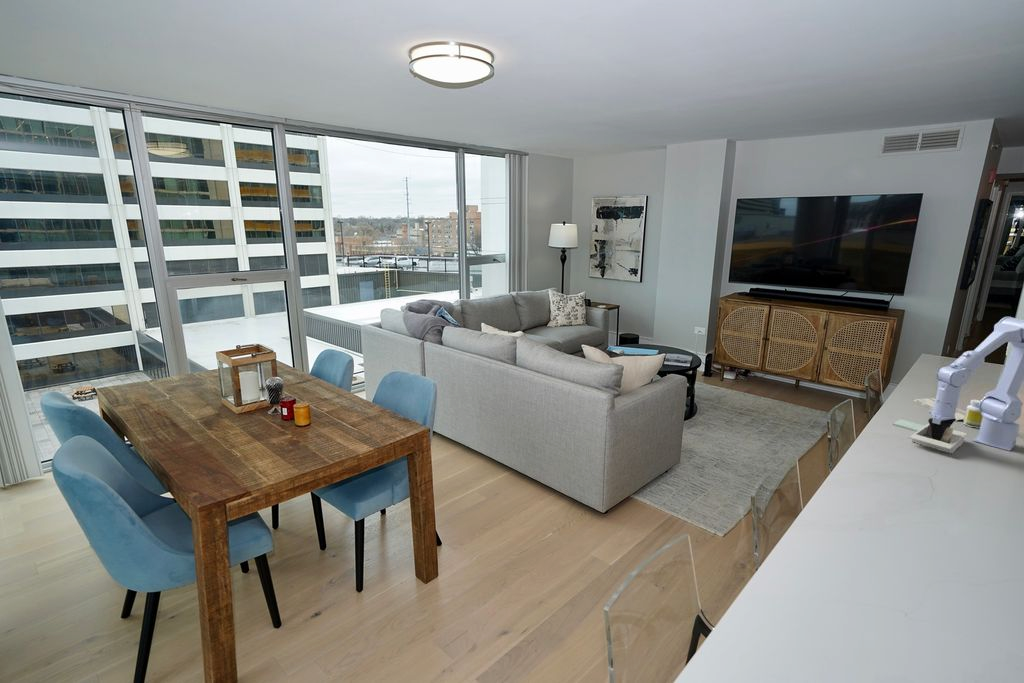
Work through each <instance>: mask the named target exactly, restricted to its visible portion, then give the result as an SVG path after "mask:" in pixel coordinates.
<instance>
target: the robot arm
mask: <svg viewBox="0 0 1024 683" xmlns="http://www.w3.org/2000/svg"><path fill="white" fill-rule="evenodd" d="M1005 343H1011V344H1012V346H1013V348H1012V350H1011V352H1010V355H1009V357H1008V360H1007V362H1006V364H1005V366H1004V369H1003V371H1002V373H1001V375H1000V377H999V380H998V383H997V385H996V387H995V389H993V390H990V391H987V392H986V393H985V395H984V397H983V398H982V399H981V400H980V403H979V410H980V411H981V412H982V413H981V415H983V418H982V422H981V426H980V428H979V431H978V434H977V436H976V437H974V439H973V440H972V441H973V442H975V443H980V444H982V445H987V446H991V447H994V448H997V449H1002V450H1005V451H1011V450H1012V449H1013V448H1014V447H1015V446H1016V443H1017V438H1018V433H1019V431H1020V426H1021V425H1020V424H1019V423H1016V421H1017V420H1019V419H1020V418H1021V415H1022V407H1023V404H1024V403H1023V402H1022V400H1021V399H1020V397H1018V393H1019V391H1020V388H1021V386H1022V384H1023V382H1024V319H1020V318H1016V317H1012V316H1004V317H1002V318H1001V319H1000V320H999V321H998V322H996V323H995V324H994V326H993V331H992V332H991V333H990V334H989V335H988V336H987V337H986V338H985V339H984V340H983V341H982V342H981V343H980V344H979V345H978V346H977V347H976V348H974V350H967V351H964V352H963V353H962V354H961V355H960V356H959V357H958V358H957V359H956V360H954V361H953V362H951V364H949V365H946V366H942V367H940V369H939V370H938V371H937V372H936V373H935V377H936V380H937V386H938V387H937V391H936V396H935V398H936V400H935V405H934V409H933V410H931V409H929V410H928V414H932V417H930V418H928V421H927V422H928V423H929V424H930V427H931V434H932V439H934V440H938V441H940V440H941V438H942V436H943V434H944V432H945V430H946V428H947V427H948V428H951V426H952V425H953V424H954V422H956V421H957V420H956V419H955V412H956V407H957V406H958V403H959V398H960V395H961V390H962V386H964V385H966V384H968V382H969V379H970V377H971V376H972V373H974V372H975V371H976V370H977V369H979V368H980V367H981V366H983V364H985V358H986V357H987V356H988V355H990V354H992V352H994V351H996V350H997V349H998V348H1000V347H1001V346H1002V345H1004V344H1005ZM957 408H958V407H957Z"/></svg>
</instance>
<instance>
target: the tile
mask: <svg viewBox="0 0 1024 683" xmlns="http://www.w3.org/2000/svg"><path fill="white" fill-rule="evenodd" d="M892 425H893V426H895V427H896V426H897V427H900V428H903V429H907V430H911V431H914V432H917V431H919V430H920V429H921V428H923V427H924V426H925V425H923V424H919V423H916V422H912V421H909V420H905V419H901V418H899V419H898V420H896V421H894V422H893V423H892Z"/></svg>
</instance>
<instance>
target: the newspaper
mask: <svg viewBox="0 0 1024 683" xmlns="http://www.w3.org/2000/svg"><path fill="white" fill-rule="evenodd" d="M935 400H936V397H935V398H934V397H931V398H929V397H928V398H927V397H925V398H917V399H913V402H915V403H916V402H917V403H916V404H918V403H919V405H920V404H921V405H920V406H923V407H924V408H927V409H929V408H930V409H929V410H931V409H932V410H933V409H934V405H935ZM965 412H966V410H965V409H964V410H963V409H962V408H959V407H956V412H955V419H956V421H959V420H964V417H965Z"/></svg>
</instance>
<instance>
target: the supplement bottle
mask: <svg viewBox="0 0 1024 683" xmlns="http://www.w3.org/2000/svg"><path fill="white" fill-rule="evenodd" d="M980 401H981V400H979V399H971V400H970V404H969V405H967V406H966V409H965V411H966V412H965V417H964V419H963V421H962V424H963V425H964V424H965V426H966V425H967V426H966V427H969V426H970V427H969V428H972V427H976V428H975V429H980V426H981V422H982V418H983V415H981V413H982V412H981V411H980V410H979V403H980Z"/></svg>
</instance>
